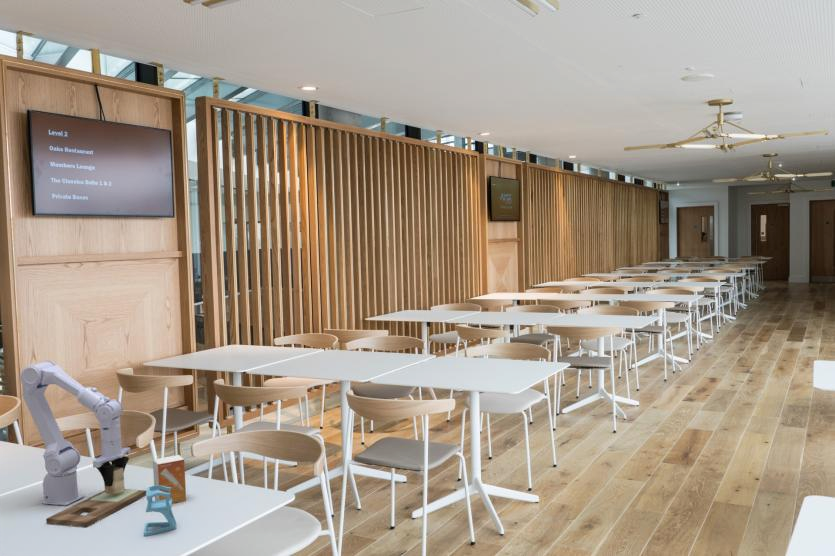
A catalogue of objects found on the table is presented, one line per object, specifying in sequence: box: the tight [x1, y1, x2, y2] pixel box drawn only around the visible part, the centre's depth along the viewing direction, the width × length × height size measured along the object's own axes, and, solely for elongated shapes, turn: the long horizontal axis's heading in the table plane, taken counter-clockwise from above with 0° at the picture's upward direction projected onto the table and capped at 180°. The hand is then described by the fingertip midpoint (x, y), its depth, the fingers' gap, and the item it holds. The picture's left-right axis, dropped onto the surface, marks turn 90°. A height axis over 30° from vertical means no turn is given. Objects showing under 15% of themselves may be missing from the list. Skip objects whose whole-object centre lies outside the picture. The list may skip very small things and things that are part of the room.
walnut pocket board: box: [45, 488, 146, 528], centre depth 216 cm, size 14×26×2 cm, turn 164°
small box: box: [152, 454, 187, 504], centre depth 220 cm, size 8×6×13 cm
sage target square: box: [90, 488, 140, 503], centre depth 223 cm, size 10×10×1 cm
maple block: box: [103, 467, 126, 494], centre depth 223 cm, size 4×4×7 cm
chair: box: [143, 485, 177, 537], centre depth 198 cm, size 8×8×12 cm
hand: (113, 483), depth 223 cm, fingers closed on maple block, 4 cm apart
